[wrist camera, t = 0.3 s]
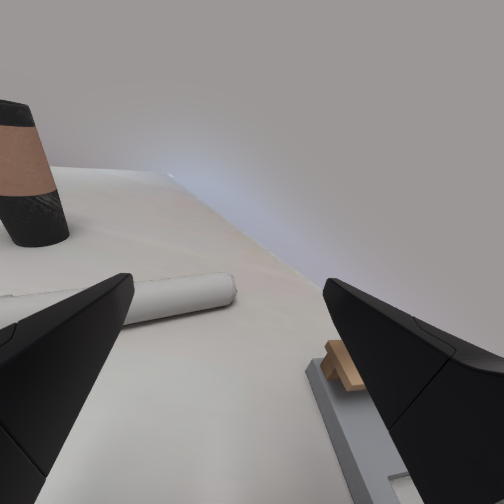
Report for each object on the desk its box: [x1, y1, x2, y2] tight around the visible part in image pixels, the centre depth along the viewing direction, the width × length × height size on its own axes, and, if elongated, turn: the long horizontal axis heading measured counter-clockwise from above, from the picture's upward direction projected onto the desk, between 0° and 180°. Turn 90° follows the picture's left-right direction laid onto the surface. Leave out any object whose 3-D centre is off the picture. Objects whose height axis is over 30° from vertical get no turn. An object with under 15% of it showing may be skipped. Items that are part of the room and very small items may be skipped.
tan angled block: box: [320, 340, 366, 391], centre depth 20 cm, size 4×9×6 cm, turn 99°
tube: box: [0, 272, 237, 329], centre depth 25 cm, size 5×5×25 cm
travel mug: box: [0, 100, 69, 247], centre depth 30 cm, size 8×8×20 cm
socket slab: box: [306, 358, 410, 504], centre depth 17 cm, size 15×9×2 cm, turn 9°
